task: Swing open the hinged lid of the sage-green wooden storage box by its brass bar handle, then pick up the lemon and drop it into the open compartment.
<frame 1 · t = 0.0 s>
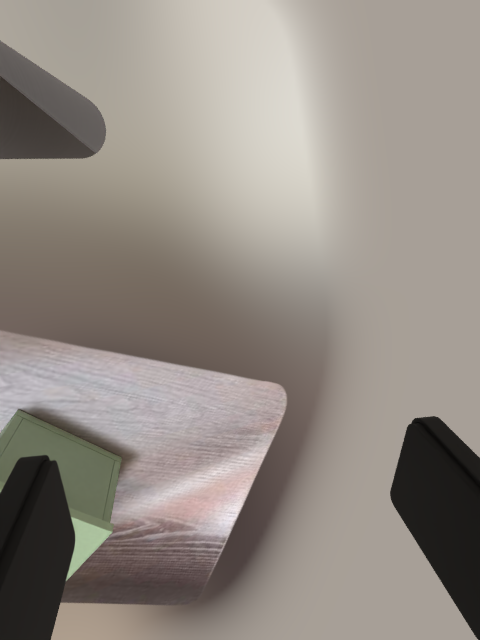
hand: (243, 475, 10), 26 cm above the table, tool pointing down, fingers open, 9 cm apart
chest: (38, 476, 40), on the table
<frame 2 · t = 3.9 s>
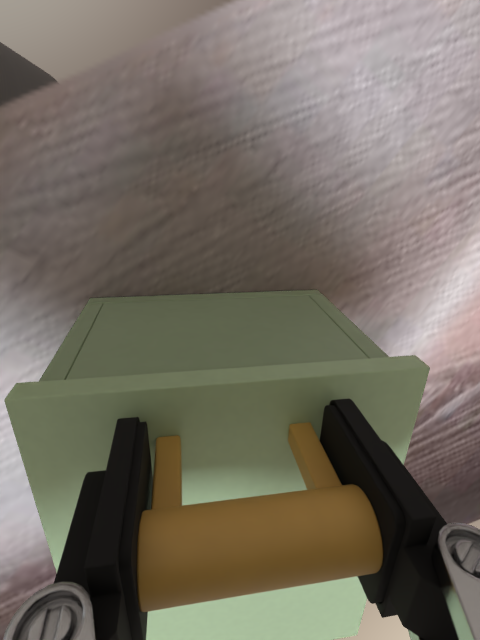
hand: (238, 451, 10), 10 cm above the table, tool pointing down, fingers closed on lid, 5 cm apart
lid: (241, 605, 12), point 11 cm above the table, hinge at 0.0°, touching gripper
chest: (210, 401, 22), on the table
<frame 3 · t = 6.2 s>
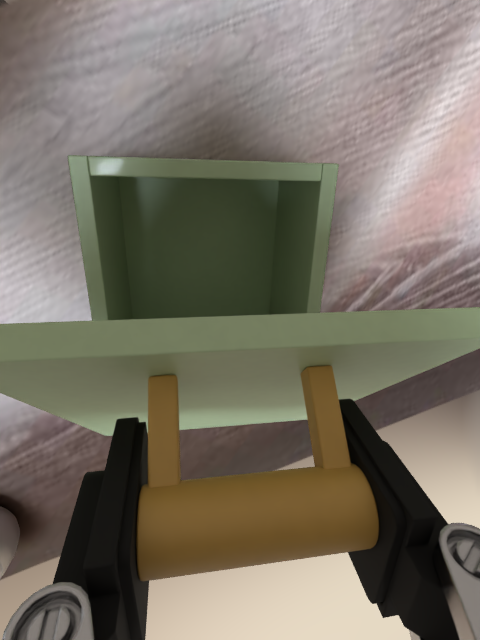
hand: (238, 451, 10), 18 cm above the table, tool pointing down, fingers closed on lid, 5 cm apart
lid: (227, 452, 14), point 16 cm above the table, hinge at 43.8°, touching gripper
chest: (201, 263, 27), on the table
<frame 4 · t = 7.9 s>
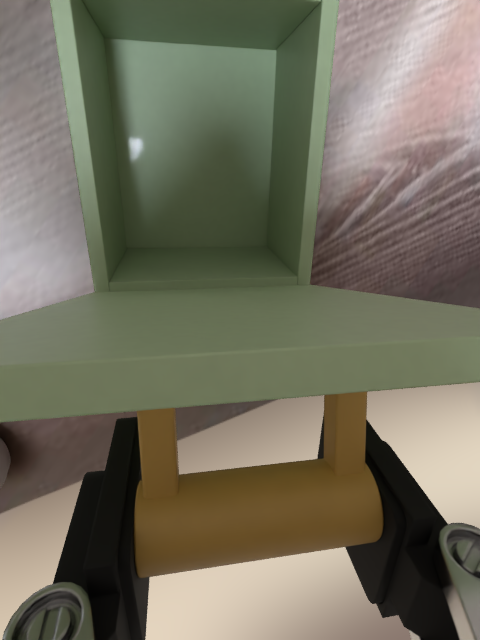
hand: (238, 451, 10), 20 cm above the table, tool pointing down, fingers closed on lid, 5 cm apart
lid: (225, 370, 13), point 17 cm above the table, hinge at 74.4°, touching gripper
chest: (195, 156, 25), on the table
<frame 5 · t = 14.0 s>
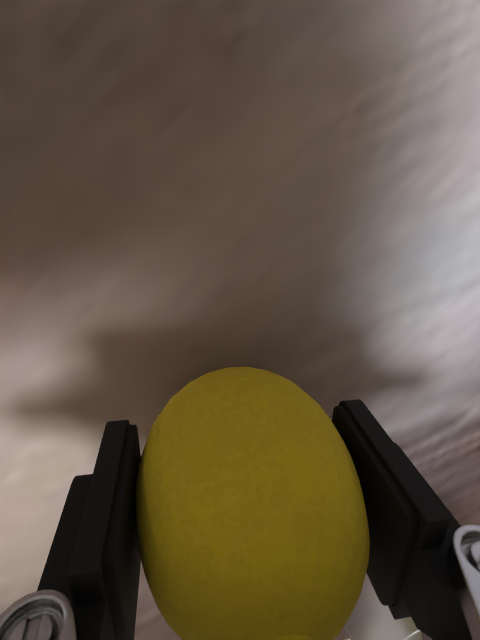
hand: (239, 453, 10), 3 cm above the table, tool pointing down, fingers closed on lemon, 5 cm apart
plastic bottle: (379, 539, 18), on the table
lemon: (225, 390, 13), on the table, touching gripper
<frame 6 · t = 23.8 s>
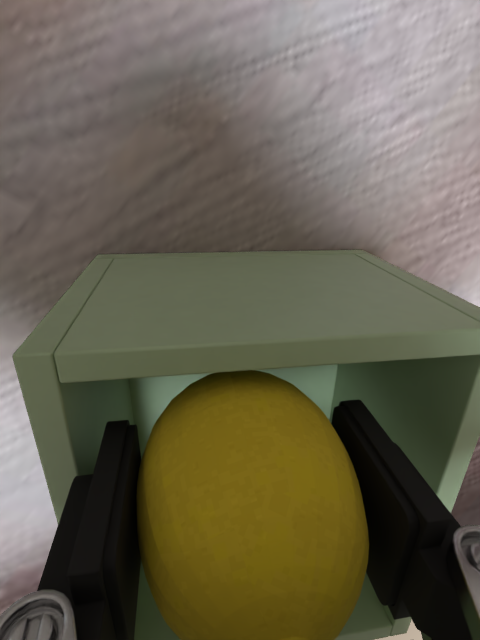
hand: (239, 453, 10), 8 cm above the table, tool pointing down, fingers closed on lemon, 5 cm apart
chest: (235, 382, 19), on the table
lemon: (225, 391, 13), point 5 cm above the table, touching gripper
when the fingers open (10 cm above the table, at t = 35.6 s): lemon drops 5 cm, resting on chest.
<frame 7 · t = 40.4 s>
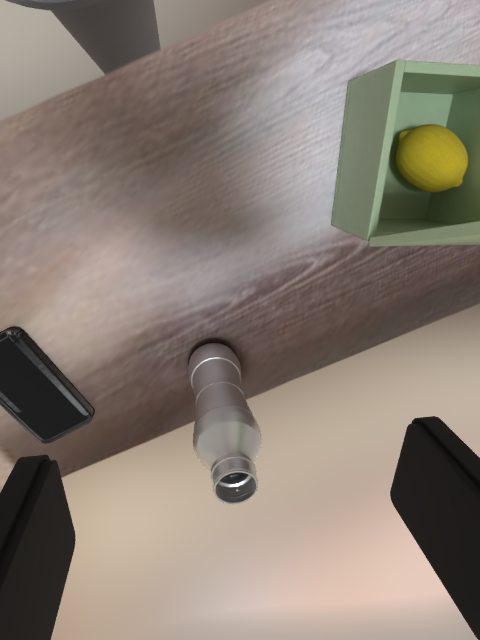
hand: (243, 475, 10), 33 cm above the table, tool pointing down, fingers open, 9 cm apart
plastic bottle: (212, 359, 47), on the table
chest: (390, 159, 40), on the table
lemon: (399, 131, 37), point 2 cm above the table, touching chest
phone: (33, 385, 44), on the table
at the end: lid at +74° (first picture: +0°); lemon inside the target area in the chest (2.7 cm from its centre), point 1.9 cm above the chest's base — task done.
